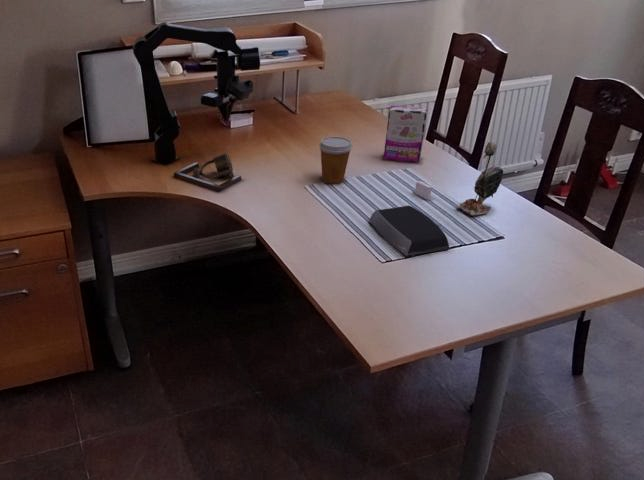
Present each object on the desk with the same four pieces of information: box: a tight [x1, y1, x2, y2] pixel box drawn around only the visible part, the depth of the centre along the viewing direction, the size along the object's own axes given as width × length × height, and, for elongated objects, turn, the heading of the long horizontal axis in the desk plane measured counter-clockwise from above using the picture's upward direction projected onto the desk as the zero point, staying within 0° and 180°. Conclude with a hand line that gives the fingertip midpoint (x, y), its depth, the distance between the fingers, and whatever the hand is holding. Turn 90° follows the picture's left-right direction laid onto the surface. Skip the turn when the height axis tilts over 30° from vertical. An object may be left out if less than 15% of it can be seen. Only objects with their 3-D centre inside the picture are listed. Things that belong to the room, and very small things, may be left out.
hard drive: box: [368, 205, 450, 257], centre depth 158 cm, size 13×19×4 cm
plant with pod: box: [456, 141, 504, 216], centre depth 165 cm, size 8×11×20 cm
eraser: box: [414, 180, 433, 201], centre depth 177 cm, size 1×5×4 cm, turn 25°
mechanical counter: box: [192, 152, 235, 179], centre depth 194 cm, size 7×13×10 cm
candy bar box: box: [383, 105, 429, 164], centre depth 197 cm, size 11×5×16 cm, turn 68°
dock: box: [173, 161, 242, 193], centre depth 194 cm, size 18×10×2 cm, turn 48°
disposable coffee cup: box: [318, 136, 353, 185], centre depth 187 cm, size 10×10×12 cm
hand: (226, 120), depth 203 cm, fingers closed
